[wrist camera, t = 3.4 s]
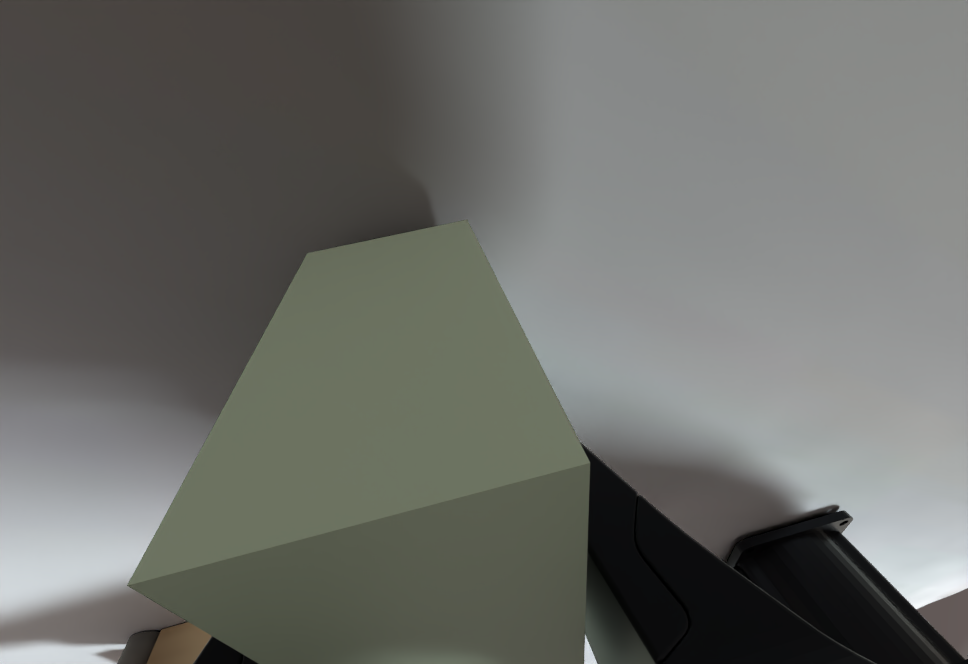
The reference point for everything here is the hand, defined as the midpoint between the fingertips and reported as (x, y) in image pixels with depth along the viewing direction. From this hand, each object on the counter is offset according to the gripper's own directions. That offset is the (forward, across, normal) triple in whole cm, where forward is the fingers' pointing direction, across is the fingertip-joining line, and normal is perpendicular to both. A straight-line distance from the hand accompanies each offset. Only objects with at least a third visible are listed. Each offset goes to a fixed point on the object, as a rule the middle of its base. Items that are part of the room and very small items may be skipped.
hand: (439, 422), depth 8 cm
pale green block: (+1, 0, 0) cm, 1 cm away
